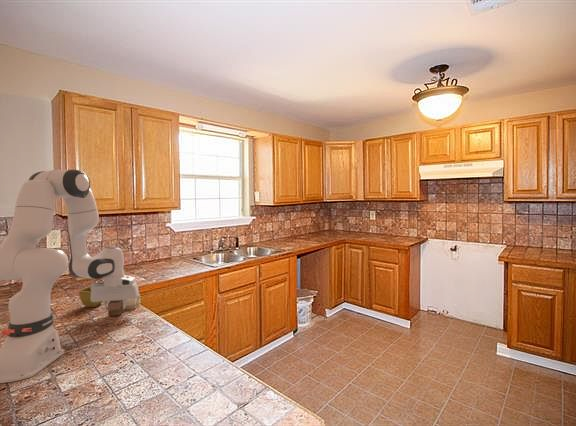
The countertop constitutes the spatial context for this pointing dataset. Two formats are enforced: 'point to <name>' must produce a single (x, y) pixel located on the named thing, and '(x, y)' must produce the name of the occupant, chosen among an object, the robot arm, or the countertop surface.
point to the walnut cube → (115, 307)
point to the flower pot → (87, 298)
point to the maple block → (133, 303)
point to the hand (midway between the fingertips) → (115, 309)
